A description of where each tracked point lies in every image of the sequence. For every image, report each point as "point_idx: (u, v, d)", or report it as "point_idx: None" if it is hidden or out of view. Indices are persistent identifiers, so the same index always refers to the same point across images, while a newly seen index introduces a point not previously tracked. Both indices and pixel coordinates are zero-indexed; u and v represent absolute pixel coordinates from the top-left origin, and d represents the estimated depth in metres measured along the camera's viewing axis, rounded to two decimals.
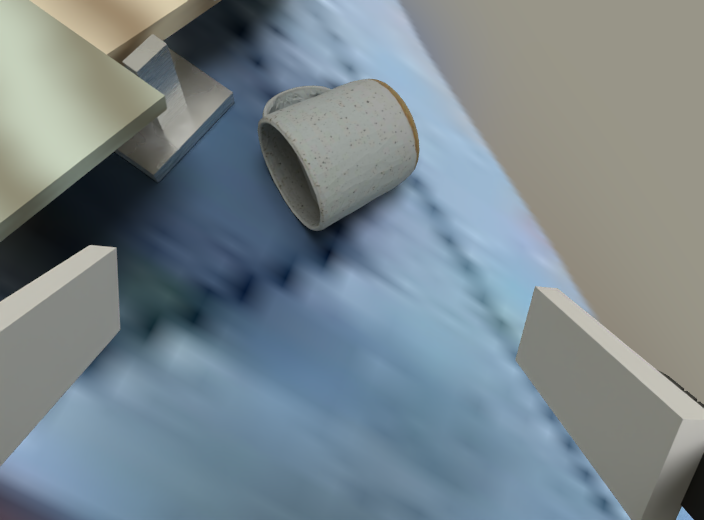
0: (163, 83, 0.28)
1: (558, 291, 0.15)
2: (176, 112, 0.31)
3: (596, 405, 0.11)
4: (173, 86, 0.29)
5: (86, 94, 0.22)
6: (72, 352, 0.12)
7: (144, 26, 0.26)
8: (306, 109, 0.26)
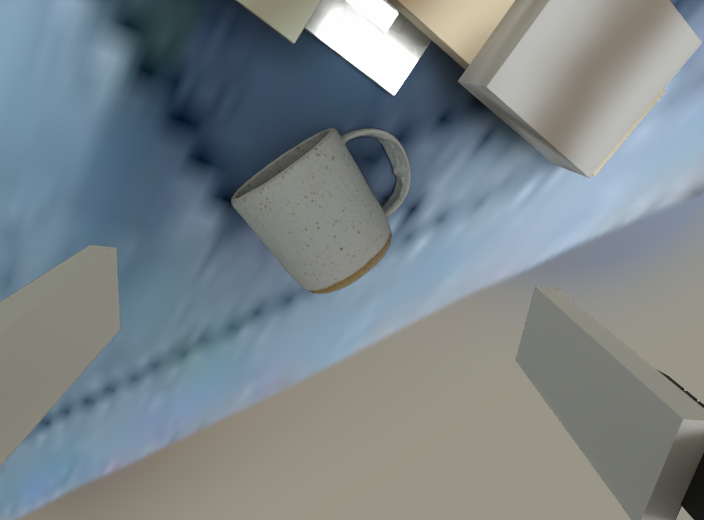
0: (363, 24, 0.25)
1: (558, 291, 0.15)
2: (360, 34, 0.28)
3: (596, 405, 0.11)
4: (371, 33, 0.26)
5: None
6: (73, 352, 0.12)
7: (406, 3, 0.22)
8: (328, 186, 0.25)
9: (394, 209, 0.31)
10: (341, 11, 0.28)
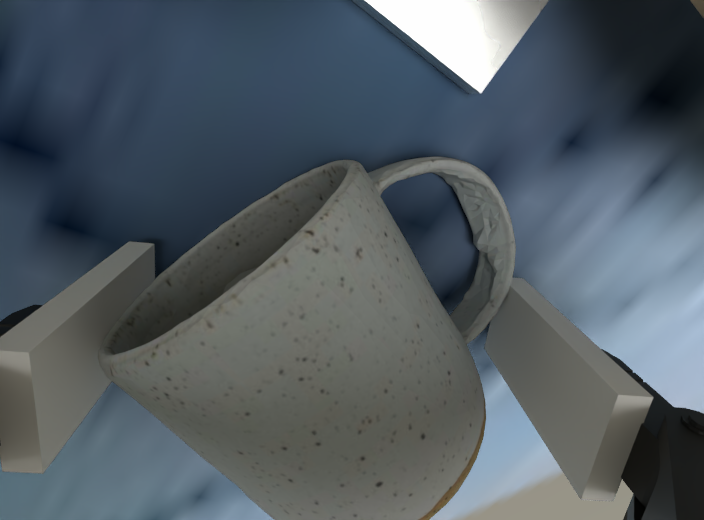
0: None
1: (523, 281, 0.15)
2: None
3: (549, 387, 0.12)
4: None
5: None
6: None
7: None
8: (345, 335, 0.09)
9: (482, 328, 0.14)
10: None
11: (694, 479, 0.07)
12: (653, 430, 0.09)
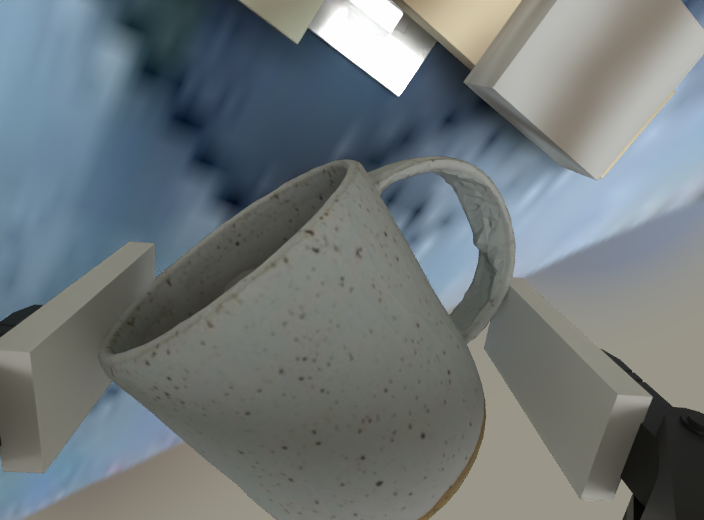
0: (368, 25, 0.25)
1: (523, 281, 0.15)
2: (365, 34, 0.28)
3: (549, 386, 0.12)
4: (375, 34, 0.26)
5: None
6: None
7: (411, 3, 0.22)
8: (345, 334, 0.09)
9: (482, 327, 0.14)
10: (345, 11, 0.28)
11: (693, 479, 0.07)
12: (652, 430, 0.09)
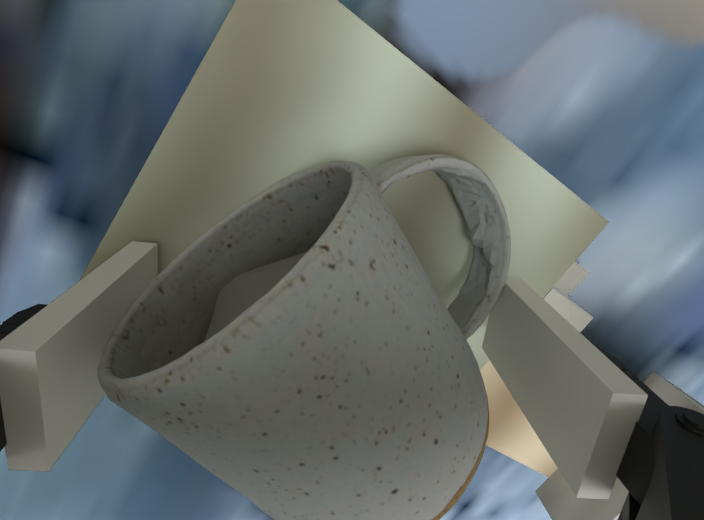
0: None
1: (520, 280, 0.15)
2: None
3: (545, 385, 0.12)
4: None
5: None
6: None
7: None
8: (362, 349, 0.09)
9: (479, 323, 0.15)
10: None
11: (688, 477, 0.07)
12: (648, 428, 0.09)
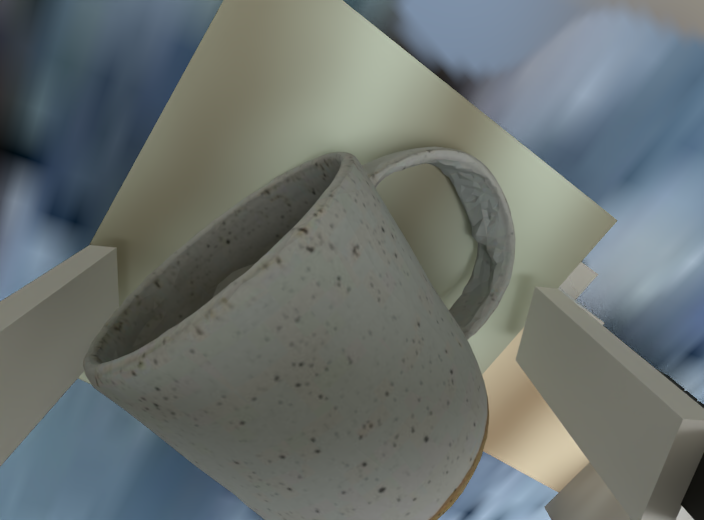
0: None
1: (558, 291, 0.15)
2: None
3: (596, 405, 0.11)
4: None
5: None
6: (73, 352, 0.12)
7: (488, 449, 0.20)
8: (344, 337, 0.09)
9: (482, 322, 0.14)
10: None
11: None
12: None
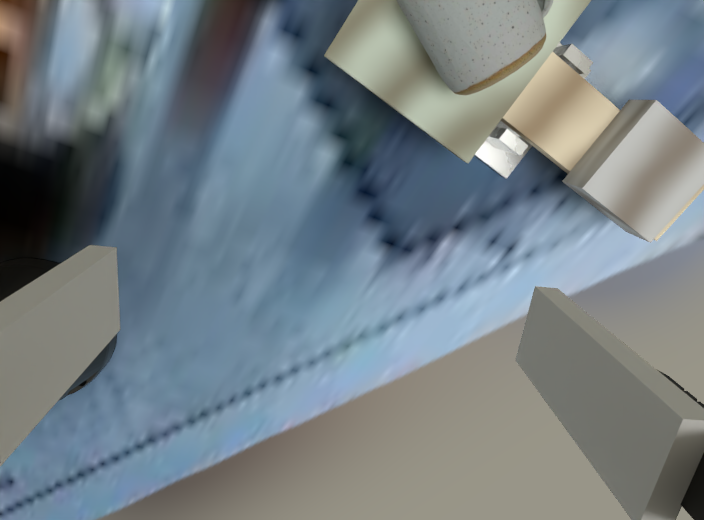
0: (500, 145, 0.41)
1: (558, 291, 0.15)
2: (489, 143, 0.44)
3: (596, 405, 0.11)
4: (501, 148, 0.42)
5: (464, 119, 0.37)
6: (73, 352, 0.12)
7: (532, 138, 0.38)
8: None
9: None
10: None
11: None
12: None
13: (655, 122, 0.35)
